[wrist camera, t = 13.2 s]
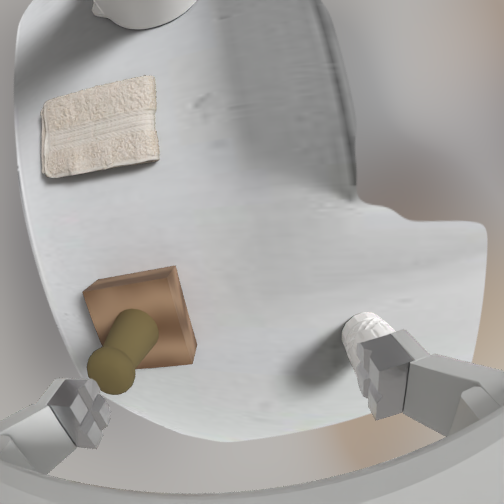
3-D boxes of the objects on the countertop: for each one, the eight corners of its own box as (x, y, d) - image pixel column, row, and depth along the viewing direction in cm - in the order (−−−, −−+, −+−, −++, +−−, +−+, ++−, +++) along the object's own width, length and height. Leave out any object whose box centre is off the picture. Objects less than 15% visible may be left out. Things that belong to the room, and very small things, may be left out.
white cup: (332, 354, 44) (351, 395, 34) (343, 306, 42) (368, 341, 32) (378, 353, 44) (404, 390, 34) (391, 308, 42) (423, 339, 32)
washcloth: (47, 105, 34) (36, 102, 31) (158, 75, 34) (152, 68, 31) (49, 182, 37) (38, 183, 34) (163, 161, 37) (156, 160, 34)
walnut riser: (97, 279, 40) (82, 291, 35) (175, 265, 40) (166, 277, 35) (123, 352, 43) (112, 370, 38) (197, 344, 42) (192, 364, 38)
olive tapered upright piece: (120, 349, 37) (88, 400, 26) (110, 308, 36) (71, 352, 25) (162, 350, 37) (139, 406, 26) (154, 308, 36) (125, 357, 25)
